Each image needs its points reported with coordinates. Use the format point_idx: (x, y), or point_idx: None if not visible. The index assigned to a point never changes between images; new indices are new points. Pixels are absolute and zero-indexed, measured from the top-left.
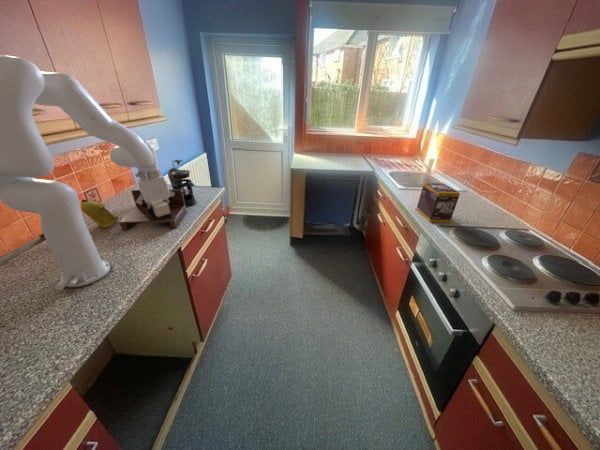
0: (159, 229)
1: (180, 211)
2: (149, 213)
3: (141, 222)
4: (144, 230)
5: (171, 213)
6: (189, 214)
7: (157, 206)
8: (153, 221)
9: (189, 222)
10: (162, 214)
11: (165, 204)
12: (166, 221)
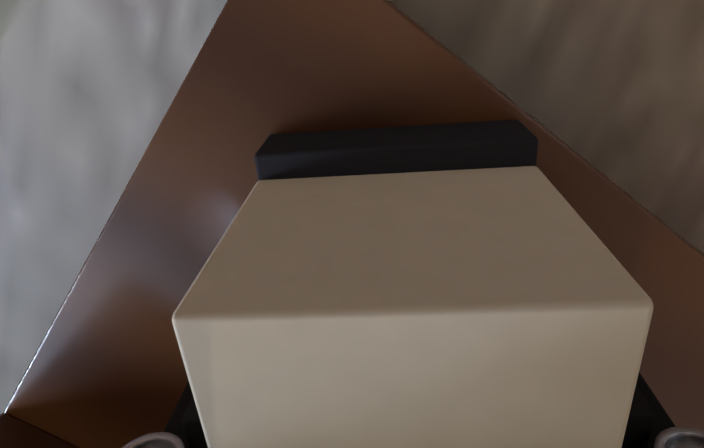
0: (513, 78)
1: (89, 254)
2: None
3: None
4: (667, 184)
5: None
6: (42, 260)
7: (551, 338)
8: (596, 169)
9: (74, 9)
10: (430, 181)
11: (266, 333)
12: (413, 24)
